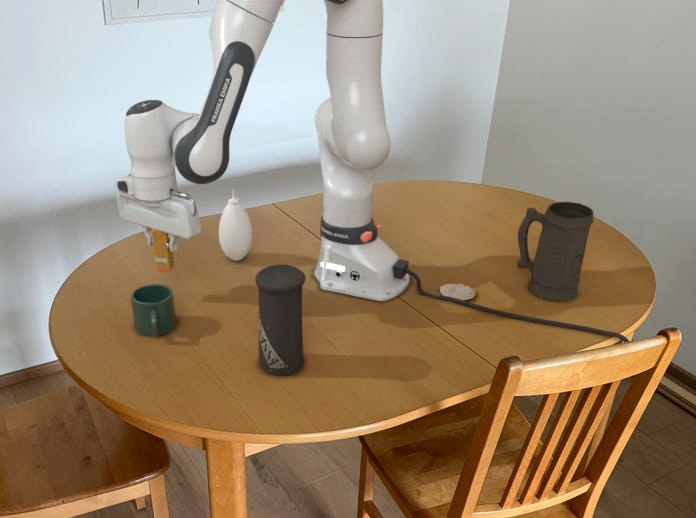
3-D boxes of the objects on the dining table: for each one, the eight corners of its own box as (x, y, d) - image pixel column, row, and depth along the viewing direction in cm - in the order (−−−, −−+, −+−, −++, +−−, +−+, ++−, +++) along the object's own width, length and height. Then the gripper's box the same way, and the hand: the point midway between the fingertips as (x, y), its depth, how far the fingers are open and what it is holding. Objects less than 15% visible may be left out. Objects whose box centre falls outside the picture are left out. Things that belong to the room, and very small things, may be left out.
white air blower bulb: (239, 269, 170) (236, 197, 160) (214, 260, 174) (209, 190, 164) (259, 257, 176) (257, 187, 166) (234, 249, 179) (230, 180, 169)
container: (257, 352, 141) (254, 261, 130) (302, 350, 142) (303, 260, 130) (258, 378, 134) (255, 284, 123) (306, 376, 134) (307, 282, 123)
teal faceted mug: (135, 317, 152) (130, 285, 148) (174, 313, 153) (171, 282, 149) (135, 346, 142) (130, 314, 138) (178, 342, 144) (174, 310, 140)
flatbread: (476, 288, 163) (477, 285, 162) (473, 304, 157) (473, 300, 157) (441, 283, 165) (441, 279, 164) (436, 298, 159) (436, 294, 159)
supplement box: (170, 273, 153) (165, 230, 147) (155, 271, 154) (149, 229, 148) (176, 266, 156) (170, 223, 150) (161, 264, 156) (155, 222, 151)
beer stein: (583, 285, 165) (597, 202, 154) (577, 305, 157) (591, 220, 146) (515, 275, 171) (525, 195, 160) (506, 295, 163) (515, 212, 152)
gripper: (204, 190, 141) (210, 253, 149) (130, 171, 151) (139, 231, 159) (183, 200, 137) (190, 265, 145) (108, 180, 146) (118, 241, 154)
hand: (163, 247), depth 152 cm, fingers closed on supplement box, 4 cm apart
